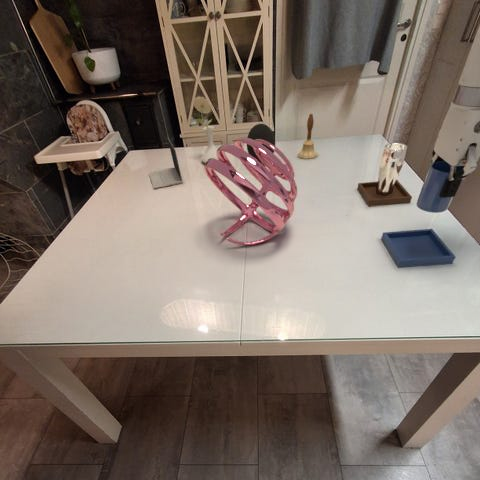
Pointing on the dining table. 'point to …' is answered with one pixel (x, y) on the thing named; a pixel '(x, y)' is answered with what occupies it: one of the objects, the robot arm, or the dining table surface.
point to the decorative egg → (260, 133)
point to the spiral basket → (257, 196)
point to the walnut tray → (371, 200)
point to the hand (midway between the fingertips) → (438, 188)
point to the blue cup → (435, 188)
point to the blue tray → (417, 248)
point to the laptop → (167, 173)
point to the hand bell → (308, 142)
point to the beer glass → (389, 168)
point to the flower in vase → (206, 128)
